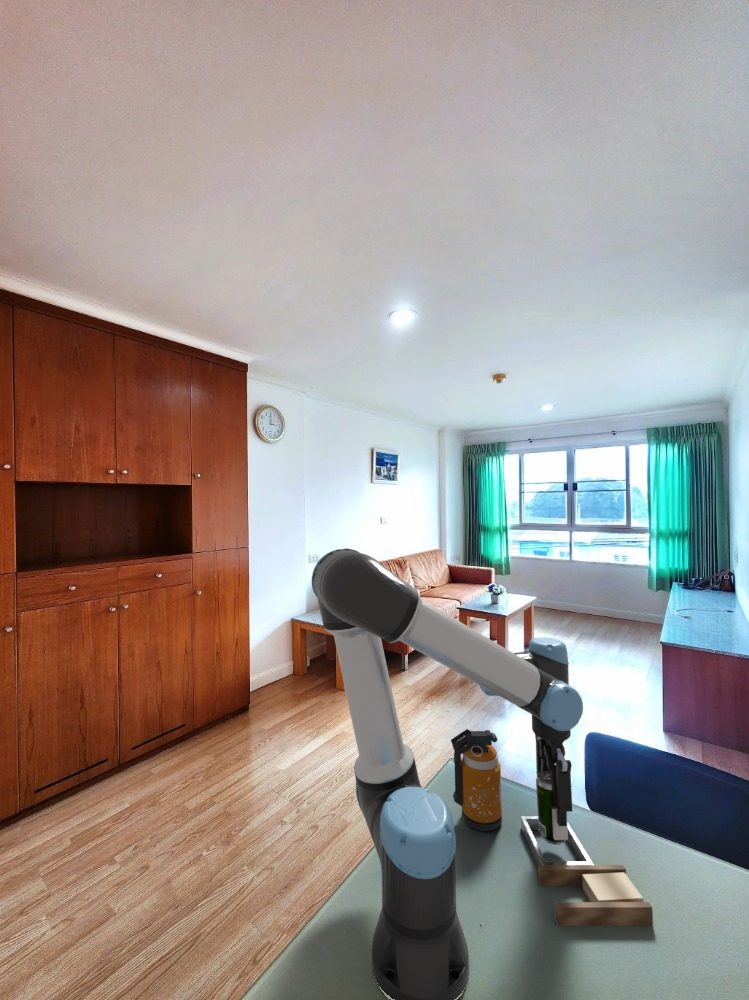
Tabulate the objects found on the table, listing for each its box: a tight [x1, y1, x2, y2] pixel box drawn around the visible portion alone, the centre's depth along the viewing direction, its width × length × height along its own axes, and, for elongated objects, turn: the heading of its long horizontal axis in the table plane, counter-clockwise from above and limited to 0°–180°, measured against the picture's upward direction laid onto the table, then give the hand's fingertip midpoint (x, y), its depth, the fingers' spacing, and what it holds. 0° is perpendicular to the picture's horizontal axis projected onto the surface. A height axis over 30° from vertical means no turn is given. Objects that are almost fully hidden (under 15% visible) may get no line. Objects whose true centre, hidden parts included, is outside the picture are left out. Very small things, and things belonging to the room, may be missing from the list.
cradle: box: [520, 815, 594, 866], centre depth 90 cm, size 14×10×2 cm
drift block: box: [582, 872, 644, 902], centre depth 78 cm, size 8×6×3 cm
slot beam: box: [537, 864, 654, 927], centre depth 78 cm, size 16×9×3 cm, turn 89°
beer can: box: [535, 770, 566, 846], centre depth 91 cm, size 5×5×12 cm
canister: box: [450, 728, 503, 831], centre depth 100 cm, size 9×11×20 cm
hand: (554, 827), depth 90 cm, fingers closed on beer can, 5 cm apart
